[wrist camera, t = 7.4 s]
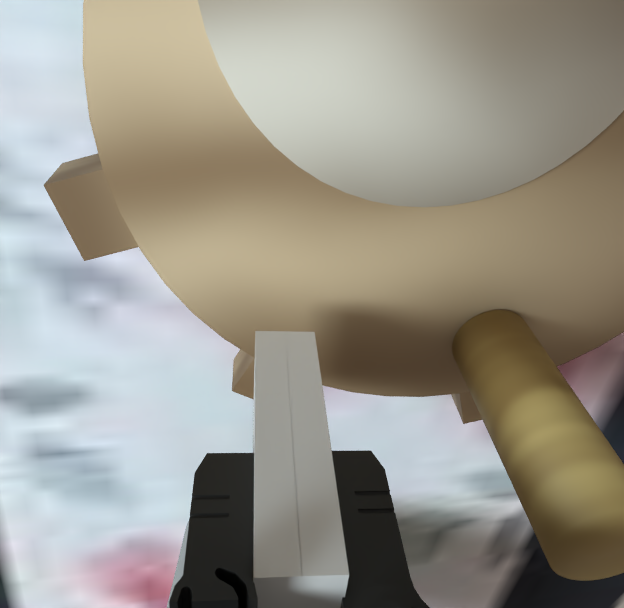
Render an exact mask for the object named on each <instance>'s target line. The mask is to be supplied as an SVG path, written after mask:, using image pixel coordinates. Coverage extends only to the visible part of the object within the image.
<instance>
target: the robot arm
mask: <svg viewBox="0 0 624 608" xmlns="http://www.w3.org/2000/svg"><path fill="white" fill-rule="evenodd" d="M169 607H170V608H429V607H428V606H427V605H426V603H425V602H424V601H423V600H422V599H421V598H420V597H419V595H418V593H417V592H416V590H415V589H414V586H413V584H412V581H411V578H410V574H409V570H408V566H407V562H406V557H405V553H404V549H403V545H402V540H401V536H400V532H399V528H398V524H397V519H396V515H395V513H394V507H393V503H392V498H391V495H390V490H389V486H388V481H387V477H386V473H385V469H384V468H383V466H382V465H381V464H380V462H379V461H378V460H377V458H376V457H375V456H374V454H373V453H372V452H371V451H332V450H331V443H330V436H329V429H328V422H327V415H326V408H325V401H324V394H323V387H322V380H321V373H320V366H319V359H318V352H317V345H316V338H315V332H292V331H255V367H254V405H253V453H207V454H206V456H205V458H204V459H203V461H202V462H201V464H200V466H199V467H198V469H197V470H196V472H195V476H194V485H193V493H192V502H191V510H190V519H189V527H188V536H187V544H186V553H185V562H184V570H183V576H182V577H181V579H180V580H179V581H178V582H177V583H176V585H175V586H174V589H173V592H172V595H171V598H170V601H169Z"/></svg>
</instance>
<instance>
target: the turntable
mask: <svg viewBox="0 0 624 608" xmlns="http://www.w3.org/2000/svg"><path fill="white" fill-rule="evenodd" d="M83 68H84V77H85V85H86V93H87V101H88V110H89V118H90V122H91V126H92V130H93V134H94V138H95V142H96V146H97V150H98V154H94V155H91V156H87V157H83V158H80V159H76V160H72V161H69V162H65V163H62V164H61V165H60V167H59V168H58V169H57V170H56V171H55V172H54V174H53V175H52V176H51V177H50V178H49V180H48V181H47V182H46V183H45V184H44V187H45V189H46V191H47V192H48V194H49V196H50V198H51V200H52V202H53V204H54V205H55V207H56V209H57V211H58V213H59V215H60V217H61V218H62V220H63V222H64V224H65V226H66V228H67V230H68V231H69V233H70V235H71V237H72V239H73V241H74V243H75V245H76V246H77V248H78V250H79V252H80V254H81V256H82V258H83V259H84V261H86V260H90V259H94V258H98V257H102V256H105V255H109V254H113V253H117V252H121V251H125V250H128V249H132V248H136V247H139V248H140V250H141V251H142V253H143V254H144V255H145V257H146V258H147V260H148V261H149V262H150V264H151V265H152V266H153V268H154V269H155V270H156V272H157V273H158V275H159V276H160V277H161V279H162V280H163V281H164V283H165V284H166V285H167V286H168V287H169V288H170V289H171V291H172V292H173V293H174V294H175V295H176V296H177V297H178V298H179V299H180V300H181V301H182V302H183V303H184V304H185V305H186V306H187V307H188V309H189V310H190V311H191V312H192V313H193V314H194V315H196V316H197V317H198V318H199V319H201V320H202V321H203V322H204V323H205V324H207V325H208V326H209V327H210V328H211V329H213V330H214V331H215V332H216V333H217V334H219V335H220V336H221V337H222V338H224V339H225V340H227V341H229V342H230V343H232V344H233V345H235V346H236V347H238V348H240V351H239V352H238V354H237V355H236V357H235V358H234V365H233V382H232V391H233V392H236V393H239V394H241V395H244V396H246V397H249V398H252V399H254V367H255V331H292V332H315V338H316V345H317V352H318V359H319V366H320V373H321V380H322V385H324V386H328V387H332V388H337V389H341V390H346V391H350V392H356V393H364V394H373V395H381V396H408V397H425V396H436V395H448V394H451V395H452V397H453V400H454V402H455V405H456V407H457V409H458V412H459V414H460V416H461V419H462V421H463V424H465V423H469V422H474V421H478V420H483V422H484V424H485V426H486V428H487V430H488V432H489V435H490V437H491V439H492V441H493V443H494V445H495V448H496V450H497V452H498V454H499V456H500V458H501V461H502V463H503V465H504V467H505V469H506V471H507V474H508V476H509V478H510V480H511V482H512V484H513V487H514V489H515V491H516V493H517V495H518V497H519V500H520V502H521V504H522V506H523V508H524V510H525V513H526V515H527V517H528V519H529V521H530V523H531V526H532V528H533V530H534V532H535V534H536V536H537V539H538V541H539V543H540V545H541V547H542V549H543V552H544V554H545V556H546V558H547V560H548V562H549V565H550V567H551V568H552V570H553V571H554V572H555V573H557V574H558V575H560V576H562V577H564V578H568V579H572V580H582V581H585V580H598V579H603V578H608V577H612V576H615V575H618V574H621V573H623V572H624V464H623V463H622V461H621V460H620V458H619V457H618V455H617V454H616V453H615V451H614V450H613V448H612V447H611V445H610V444H609V442H608V441H607V439H606V438H605V437H604V435H603V434H602V432H601V431H600V429H599V428H598V426H597V425H596V423H595V422H594V421H593V419H592V418H591V416H590V415H589V413H588V412H587V410H586V409H585V407H584V406H583V405H582V403H581V402H580V400H579V399H578V397H577V396H576V394H575V393H574V391H573V390H572V389H571V387H570V386H569V384H568V383H567V381H566V380H565V378H564V377H563V376H562V374H561V373H560V371H559V370H558V368H557V366H559V365H562V364H564V363H566V362H568V361H570V360H573V359H575V358H577V357H579V356H581V355H583V354H585V353H587V352H589V351H591V350H593V349H595V348H597V347H599V346H601V345H603V344H604V343H606V342H608V341H609V340H611V339H613V338H614V337H616V336H618V335H619V334H621V333H623V332H624V0H84V3H83Z"/></svg>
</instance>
